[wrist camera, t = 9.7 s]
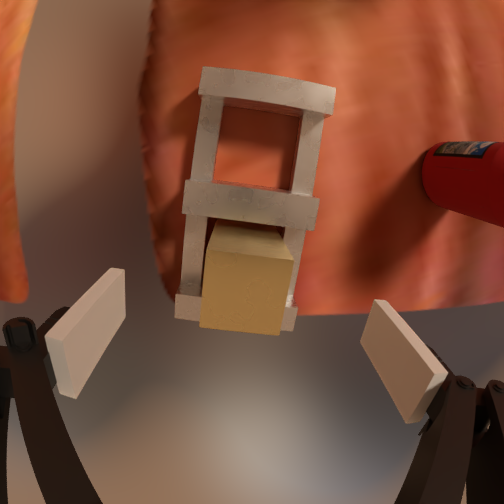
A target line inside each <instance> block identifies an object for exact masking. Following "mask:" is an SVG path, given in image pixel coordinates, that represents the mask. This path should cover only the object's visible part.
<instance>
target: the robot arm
mask: <svg viewBox="0 0 504 504" xmlns="http://www.w3.org/2000/svg"><path fill="white" fill-rule="evenodd" d="M124 271H125V270H123V269H117V268H110V269H109V270H108V271H107V272H106V273H105V274H104V275H103V276H102V277H101V278H100V279H99V280H98V281H97V282H96V283H95V284H94V285H93V286H92V287H91V288H90V289H89V290H88V291H87V292H86V293H85V294H84V295H83V296H82V297H81V298H80V299H79V300H78V301H77V302H76V303H75V304H74V305H73V306H72V307H71V308H70V307H63V308H60V309H58V310H56V311H55V312H54V313H53V314H52V315H51V316H50V318H48V319H47V320H46V321H45V323H43V324H42V325H41V326H40V327H39V328H38V329H37V330H36V327H35V324H34V322H33V321H32V320H31V319H29V318H25V317H17V318H13V319H11V320H9V321H7V322H6V323H5V324H4V325H3V333H4V337H5V340H6V344H7V346H0V504H8V497H7V476H6V475H7V474H6V473H7V470H6V459H7V458H6V457H7V432H8V418H9V408H10V399H11V398H15V402H16V406H17V412H18V416H19V421H20V425H21V429H22V433H23V437H24V441H25V444H26V447H27V451H28V454H29V458H30V461H31V464H32V467H33V470H34V473H35V476H36V479H37V482H38V484H39V487H40V489H41V492H42V495H43V497H44V500H45V502H46V504H103V503H102V502H101V500H100V498H99V497H98V495H97V493H96V491H95V489H94V487H93V486H92V484H91V482H90V480H89V478H88V476H87V474H86V472H85V470H84V468H83V466H82V464H81V462H80V459H79V457H78V455H77V453H76V451H75V448H74V446H73V444H72V442H71V439H70V437H69V434H68V432H67V430H66V427H65V424H64V422H63V420H62V417H61V414H60V411H59V408H58V406H57V403H56V400H55V397H54V394H53V391H52V389H53V388H54V386H55V384H56V383H57V386H58V389H59V393H60V394H62V395H65V396H68V397H71V398H74V399H77V397H78V395H79V393H80V392H81V390H82V388H83V386H84V385H85V383H86V381H87V379H88V378H89V376H90V374H91V372H92V371H93V369H94V367H95V366H96V364H97V362H98V361H99V359H100V357H101V356H102V354H103V352H104V351H105V349H106V347H107V346H108V344H109V343H110V341H111V339H112V338H113V336H114V335H115V333H116V331H117V330H118V328H119V327H120V325H121V323H122V322H123V320H124V319H125V317H126V313H125V272H124ZM360 343H361V345H362V346H363V348H364V350H365V352H366V353H367V355H368V356H369V358H370V360H371V362H372V364H373V365H374V367H375V369H376V371H377V372H378V374H379V376H380V378H381V379H382V381H383V383H384V385H385V387H386V388H387V390H388V392H389V394H390V395H391V397H392V399H393V401H394V403H395V405H396V406H397V408H398V410H399V412H400V414H401V416H402V417H403V419H404V421H405V423H406V424H409V423H415V422H419V421H420V420H421V419H422V417H423V416H424V414H425V412H427V414H428V415H429V419H428V421H427V422H426V424H425V425H424V427H423V428H422V429H421V431H420V432H419V434H418V435H421V434H422V436H421V439H420V442H419V445H418V448H417V451H416V453H415V456H414V459H413V461H412V464H411V466H410V469H409V471H408V474H407V476H406V479H405V481H404V483H403V486H402V488H401V490H400V492H399V494H398V497H397V499H396V501H395V503H394V504H460V503H461V499H462V495H463V491H464V487H465V482H466V496H467V504H504V383H503V382H501V381H497V380H491V381H489V383H488V384H487V386H486V388H485V389H482V388H476V385H475V384H474V382H473V381H471V380H470V379H469V378H467V377H464V376H455V375H454V374H453V373H452V371H451V370H450V369H449V368H448V367H447V365H446V364H445V363H444V362H442V359H441V358H440V357H438V355H437V354H436V352H435V351H434V350H433V349H432V348H430V347H429V346H427V345H426V344H424V343H423V342H422V341H421V340H420V338H419V337H418V336H417V335H416V334H415V333H414V331H413V330H412V329H411V328H410V327H409V326H408V324H407V323H406V322H405V321H404V320H403V319H402V318H401V317H400V315H399V314H398V313H397V312H396V311H395V310H394V309H393V308H392V306H391V305H390V304H389V303H388V302H387V301H386V300H376V299H374V301H373V305H372V308H371V311H370V314H369V317H368V320H367V323H366V326H365V329H364V332H363V335H362V338H361V341H360ZM489 424H490V426H489V429H487V427H488V425H489Z"/></svg>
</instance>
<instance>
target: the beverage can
mask: <svg viewBox="0 0 504 504" xmlns="http://www.w3.org/2000/svg"><path fill="white" fill-rule="evenodd" d="M422 181H423V186H424V189H425V191H426V193H427V195H428V197H429V198H430V199H431V201H432V202H433V203H435V204H436V205H438V206H440V207H442V208H446V209H449V210H452V211H455V212H458V213H461V214H464V215H467V216H470V217H473V218H476V219H479V220H482V221H485V222H488V223H491V224H494V225H497V226H500V227H503V228H504V142H441V143H438V144H436V145H434V146H433V147H432V148H431V149H430V150H429V151H428V153H427V154H426V156H425V159H424V162H423V166H422Z"/></svg>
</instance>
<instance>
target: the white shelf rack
mask: <svg viewBox="0 0 504 504" xmlns="http://www.w3.org/2000/svg"><path fill="white" fill-rule="evenodd" d="M335 93H336V88H334V87H330V86H326V85H322V84H317V83H313V82H308V81H303V80H299V79H293V78H288V77H283V76H277V75H271V74H265V73H258V72H251V71H244V70H236V69H227V68H217V67H205V66H203V69H202V74H201V79H200V85H199V91H198V95H199V97H200V98H201V100H202V102H201V108H200V114H199V121H198V127H197V134H196V141H195V148H194V155H193V163H192V170H191V178H190V179H187V180H185V188H184V197H183V207H182V214H186V224H185V235H184V246H183V258H182V271H181V283H180V285H179V287H178V290H177V292H176V296H175V318H177V319H184V320H192V321H199V322H200V311H201V300H202V289H203V279H202V275H203V265H204V255H205V245H206V236H207V227H208V219H209V217H214V218H222V219H230V220H238V221H246V222H253V223H261V224H268V225H275V226H282V233H281V238H282V239H283V241H284V243H285V245H286V246H287V248H288V250H289V252H290V253H291V255H292V257H293V259H294V265H293V270H292V275H291V281H290V286H289V291H288V296H287V300H286V305H285V310H284V315H283V320H282V324H281V329H280V330H283V331H293V327H294V323H295V318H296V315H297V310H298V307H297V304H296V302H295V299H294V297H293V293H294V288H295V284H296V279H297V274H298V269H299V264H300V259H301V253H302V248H303V243H304V238H305V232H306V230H310V231H314V228H315V223H316V217H317V212H318V206H319V200H320V199H319V198H317V197H315V196H313V195H312V193H313V187H314V181H315V175H316V168H317V162H318V156H319V149H320V142H321V135H322V129H323V121H324V119H325V118H328V117H330V116H332V115H333V109H334V101H335ZM224 106H230V107H238V108H246V109H253V110H260V111H266V112H272V113H278V114H284V115H290V116H295V117H300V119H299V126H298V132H297V139H296V146H295V152H294V159H293V165H292V172H291V178H290V185H289V190H284V189H278V188H271V187H264V186H257V185H250V184H243V183H235V182H228V181H220V180H213V178H214V171H215V163H216V156H217V149H218V142H219V135H220V129H221V122H222V116H223V109H224Z"/></svg>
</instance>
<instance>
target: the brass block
mask: <svg viewBox="0 0 504 504" xmlns="http://www.w3.org/2000/svg"><path fill="white" fill-rule="evenodd" d="M293 265H294V259H293V257H292V255H291V253H290V252H289V250H288V248H287V246H286V245H285V243H284V241H283V239H282V238H281V236H280V234H279V233H278V231H277V229H276V227H275V226H274V225H268V224H261V223H253V222H246V221H238V220H230V219H222V218H217V220H216V223H215V226H214V229H213V232H212V235H211V238H210V240H209V243H208V246H207V249H206V258H205V268H204V278H203V289H202V300H201V311H200V323H199V327H203V328H211V329H219V330H227V331H237V332H246V333H256V334H268V335H279V333H280V329H281V324H282V320H283V315H284V310H285V305H286V300H287V296H288V291H289V286H290V281H291V275H292V270H293Z"/></svg>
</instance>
